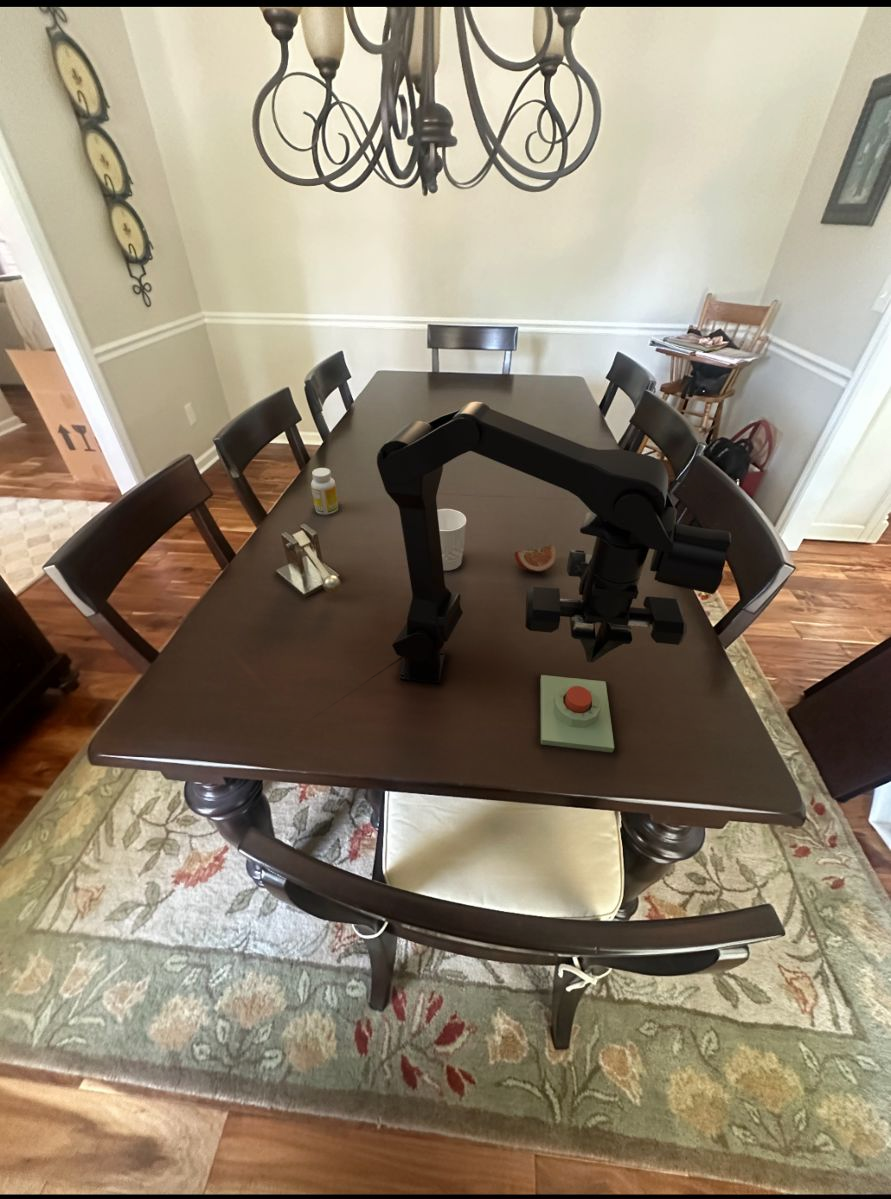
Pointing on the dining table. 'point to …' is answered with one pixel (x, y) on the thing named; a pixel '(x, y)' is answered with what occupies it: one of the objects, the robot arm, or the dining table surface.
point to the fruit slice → (536, 558)
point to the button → (578, 699)
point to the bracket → (302, 564)
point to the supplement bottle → (324, 491)
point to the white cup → (451, 537)
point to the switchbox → (575, 715)
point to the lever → (317, 563)
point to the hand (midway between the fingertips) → (589, 659)
